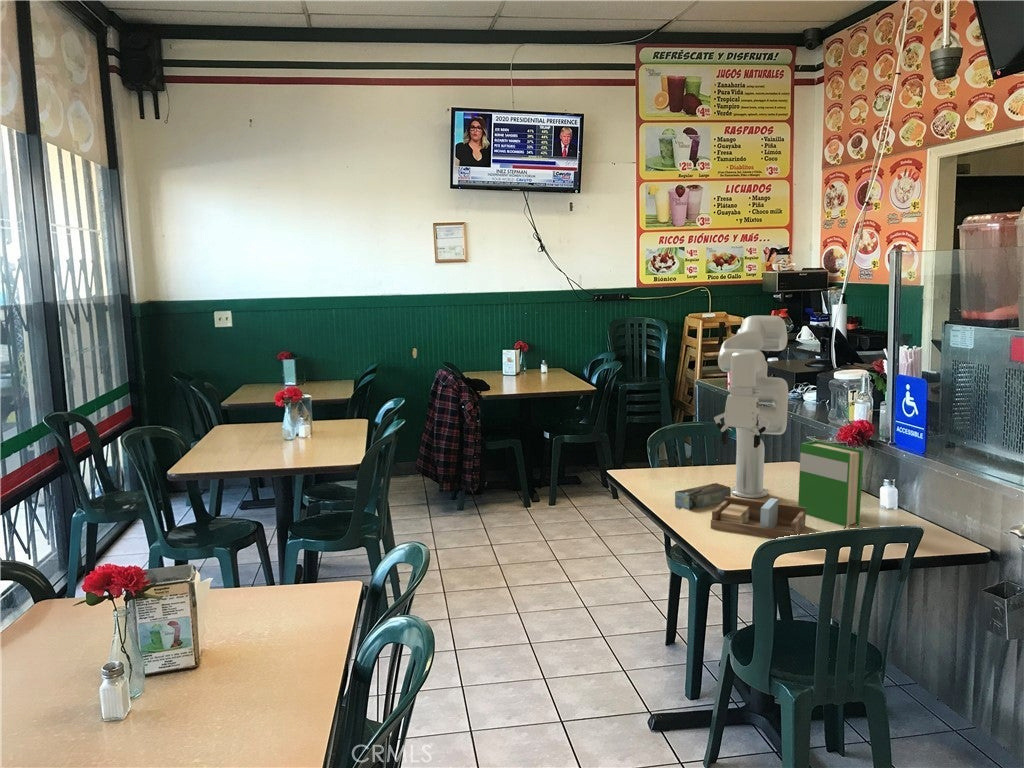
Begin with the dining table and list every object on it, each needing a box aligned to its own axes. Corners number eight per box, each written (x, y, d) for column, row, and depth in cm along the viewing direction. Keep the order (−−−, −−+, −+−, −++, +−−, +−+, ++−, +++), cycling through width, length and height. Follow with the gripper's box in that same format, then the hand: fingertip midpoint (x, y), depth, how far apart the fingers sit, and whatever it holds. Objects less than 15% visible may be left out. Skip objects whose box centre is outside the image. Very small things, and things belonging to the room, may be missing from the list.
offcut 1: (730, 508, 270) (730, 503, 269) (749, 510, 267) (749, 506, 266) (720, 517, 260) (720, 512, 260) (739, 520, 257) (740, 515, 257)
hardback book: (859, 524, 264) (863, 450, 261) (844, 529, 260) (848, 453, 257) (812, 511, 279) (815, 440, 276) (797, 514, 275) (800, 443, 272)
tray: (725, 517, 273) (725, 496, 272) (805, 528, 261) (806, 507, 260) (710, 531, 260) (711, 509, 259) (793, 544, 247) (794, 521, 246)
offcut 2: (730, 512, 270) (730, 508, 270) (749, 515, 267) (749, 510, 267) (720, 522, 260) (720, 517, 260) (739, 525, 257) (739, 520, 257)
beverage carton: (673, 507, 285) (673, 488, 284) (715, 499, 295) (716, 481, 294) (689, 513, 278) (689, 494, 277) (732, 505, 288) (732, 486, 287)
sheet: (769, 522, 264) (770, 498, 263) (777, 523, 263) (778, 499, 262) (759, 533, 254) (760, 508, 253) (767, 534, 253) (768, 509, 252)
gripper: (773, 392, 260) (771, 446, 262) (719, 388, 269) (717, 440, 271) (767, 395, 253) (765, 450, 256) (711, 391, 262) (709, 444, 265)
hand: (740, 445), depth 263 cm, fingers open, 9 cm apart
